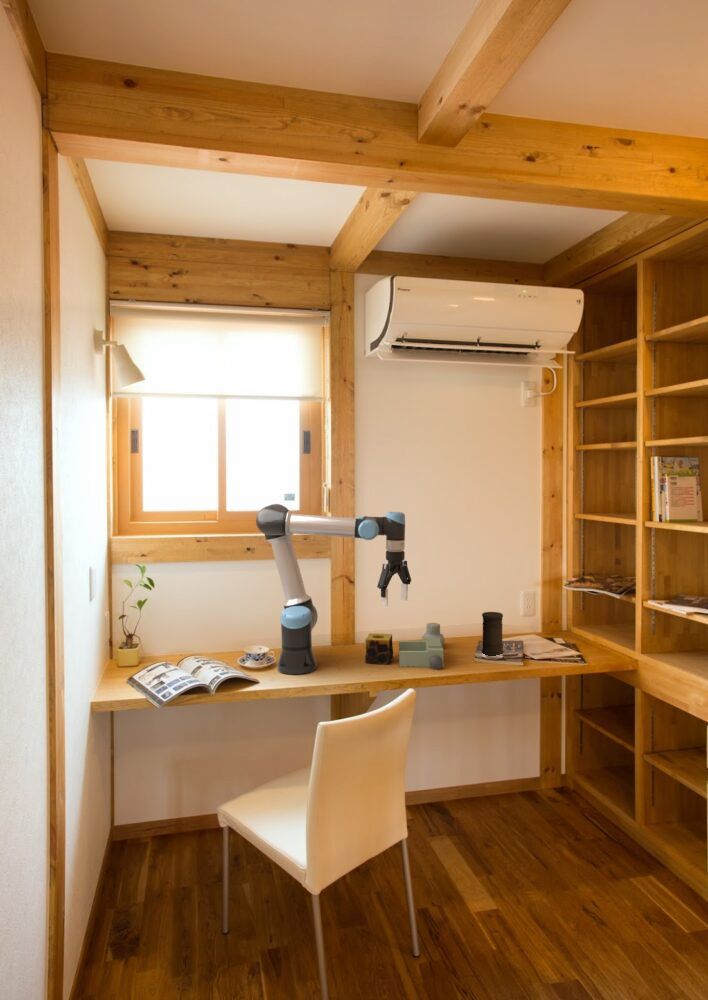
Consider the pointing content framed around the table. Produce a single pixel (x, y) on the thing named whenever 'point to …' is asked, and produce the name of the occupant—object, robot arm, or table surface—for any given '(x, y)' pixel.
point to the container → (492, 633)
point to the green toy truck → (421, 653)
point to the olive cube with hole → (379, 649)
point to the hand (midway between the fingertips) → (394, 602)
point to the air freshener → (433, 632)
